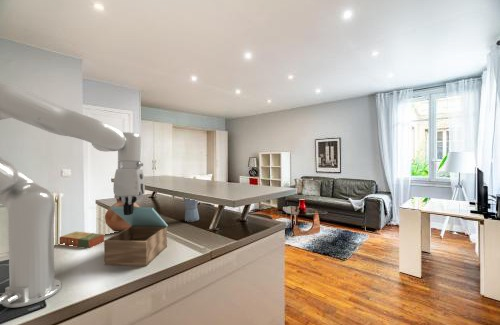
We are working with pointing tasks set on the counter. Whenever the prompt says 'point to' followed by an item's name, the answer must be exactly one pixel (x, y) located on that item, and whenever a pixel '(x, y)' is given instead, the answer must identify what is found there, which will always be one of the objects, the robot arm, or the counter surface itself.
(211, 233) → the counter surface
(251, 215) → the counter surface
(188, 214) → the moka pot
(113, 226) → the jug
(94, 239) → the carton
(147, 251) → the walnut box
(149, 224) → the lid
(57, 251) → the counter surface
